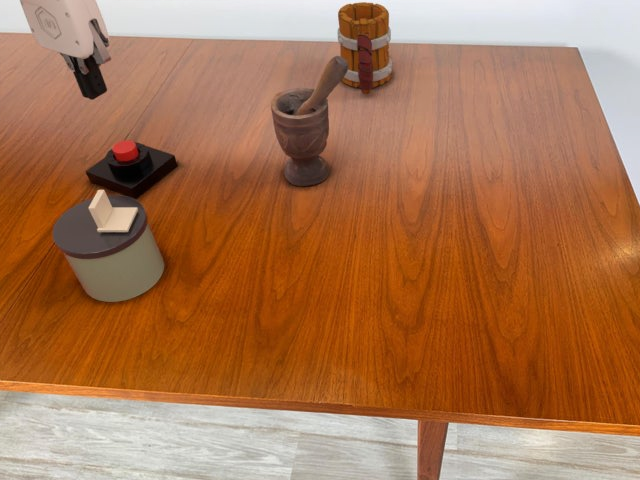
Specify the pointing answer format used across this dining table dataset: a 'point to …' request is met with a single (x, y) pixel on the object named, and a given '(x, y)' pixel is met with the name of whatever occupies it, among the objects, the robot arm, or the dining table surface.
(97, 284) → the grey green round canister
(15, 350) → the dining table surface
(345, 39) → the mug
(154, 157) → the button block
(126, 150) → the button
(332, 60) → the mortar and pestle
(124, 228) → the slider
